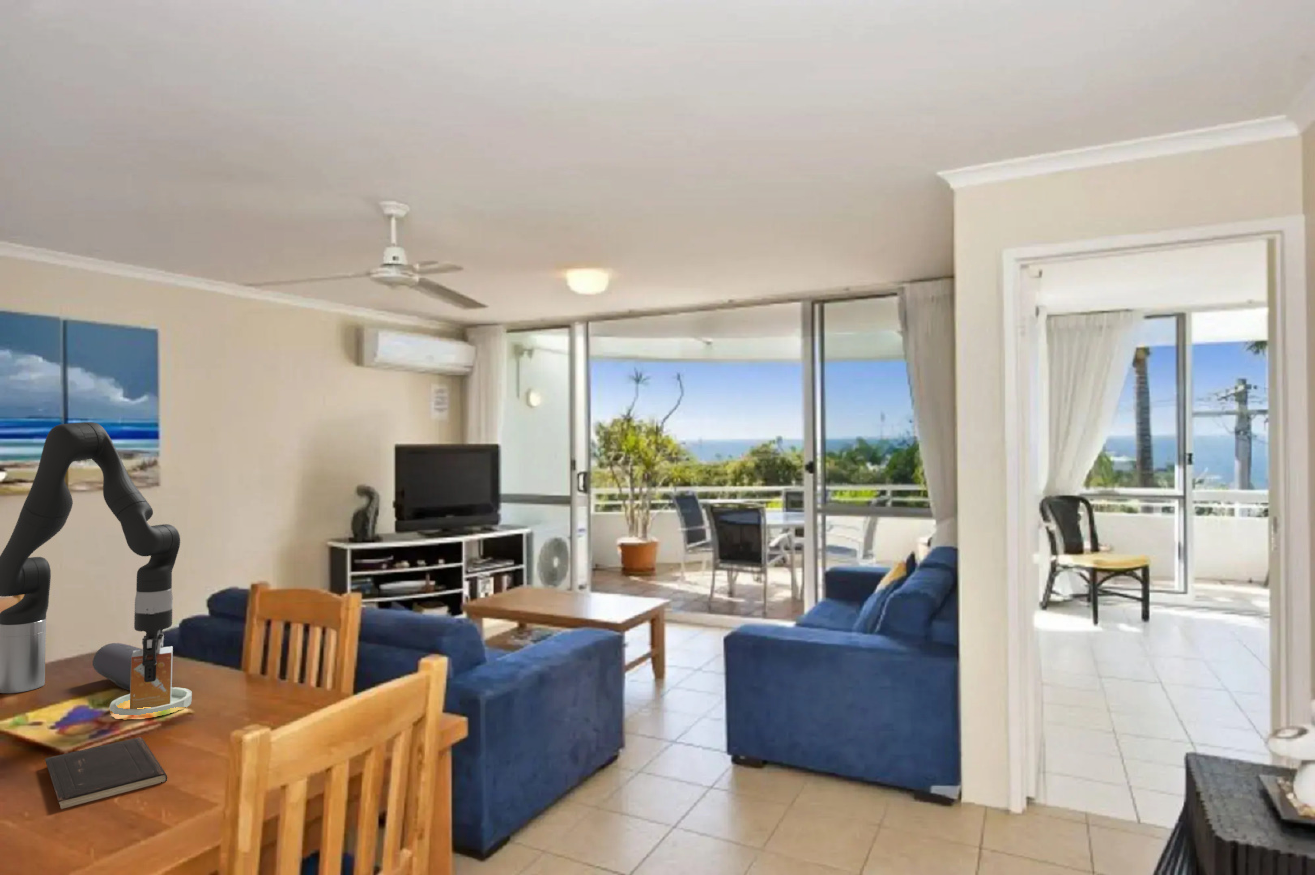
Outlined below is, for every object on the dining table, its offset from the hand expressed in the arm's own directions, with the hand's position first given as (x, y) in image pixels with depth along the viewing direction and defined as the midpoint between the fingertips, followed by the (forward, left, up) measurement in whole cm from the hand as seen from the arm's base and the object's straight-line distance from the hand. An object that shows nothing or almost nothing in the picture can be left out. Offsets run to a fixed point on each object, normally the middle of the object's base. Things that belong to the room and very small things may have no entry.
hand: (152, 676), depth 176 cm
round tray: (0, 0, -8) cm, 8 cm away
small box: (0, 0, -7) cm, 7 cm away
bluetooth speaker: (-21, -7, -8) cm, 23 cm away
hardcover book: (+38, -3, -8) cm, 39 cm away
